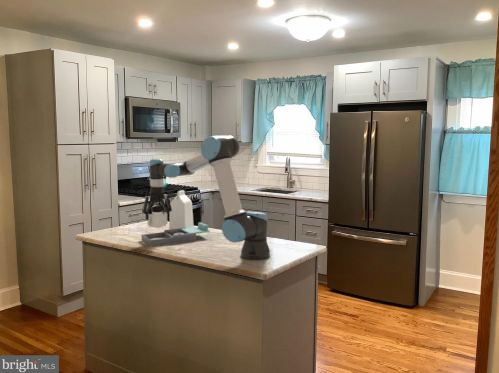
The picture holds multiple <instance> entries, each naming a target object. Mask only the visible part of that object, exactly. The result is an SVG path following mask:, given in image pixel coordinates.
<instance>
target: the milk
mask: <svg viewBox="0 0 499 373" xmlns="http://www.w3.org/2000/svg"><path fill="white" fill-rule="evenodd" d="M170 205H171V209H172V211H170V212H169V220H168V221H169V223H168V224H169V226H168V230H169V229H178V228H194V213H193V202H192V200H191V198H189V196H188V195H186V194H185V190H179V191H177V193H176V196H175V197H174V199H172V200H171V202H170Z"/></svg>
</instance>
